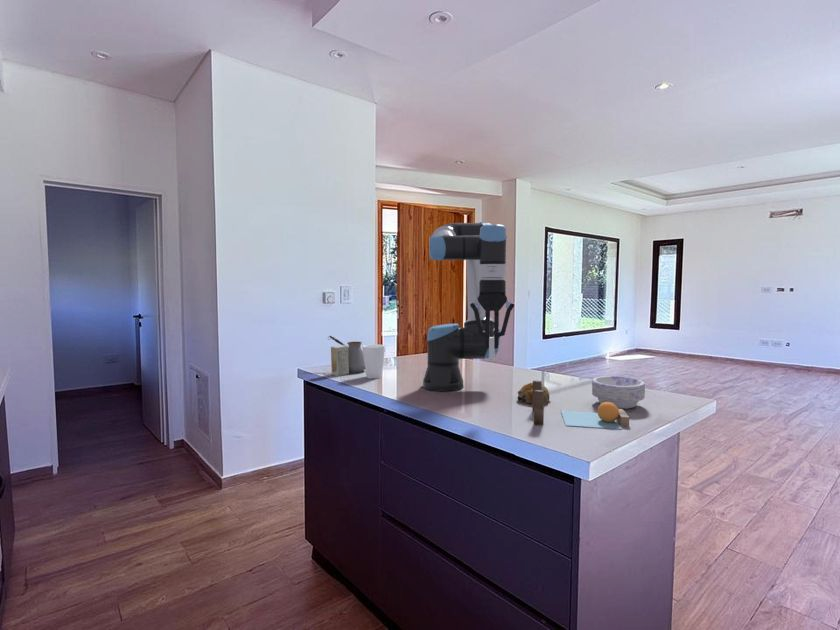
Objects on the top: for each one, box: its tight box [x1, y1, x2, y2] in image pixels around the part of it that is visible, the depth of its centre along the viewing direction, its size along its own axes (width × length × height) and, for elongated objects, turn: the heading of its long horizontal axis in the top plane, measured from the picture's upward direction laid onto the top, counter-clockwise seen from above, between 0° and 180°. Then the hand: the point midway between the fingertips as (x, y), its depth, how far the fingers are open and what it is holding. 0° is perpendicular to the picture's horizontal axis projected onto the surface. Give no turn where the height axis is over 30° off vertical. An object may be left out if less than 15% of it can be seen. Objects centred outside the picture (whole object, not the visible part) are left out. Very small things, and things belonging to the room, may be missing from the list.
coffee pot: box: [327, 335, 366, 374], centre depth 200 cm, size 21×12×15 cm, turn 57°
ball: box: [596, 402, 619, 422], centre depth 123 cm, size 6×6×6 cm
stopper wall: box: [616, 409, 630, 427], centre depth 123 cm, size 8×2×2 cm, turn 167°
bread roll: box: [517, 382, 551, 405], centre depth 145 cm, size 10×10×8 cm
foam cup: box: [361, 343, 386, 379], centre depth 184 cm, size 10×9×13 cm
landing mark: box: [560, 410, 622, 430], centre depth 125 cm, size 14×14×1 cm
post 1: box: [532, 379, 543, 412], centre depth 134 cm, size 3×3×9 cm
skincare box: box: [330, 344, 350, 377], centre depth 190 cm, size 6×4×12 cm
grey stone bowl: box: [591, 375, 646, 410], centre depth 140 cm, size 15×15×8 cm
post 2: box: [533, 390, 545, 426], centre depth 122 cm, size 3×3×9 cm
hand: (491, 359), depth 131 cm, fingers closed
